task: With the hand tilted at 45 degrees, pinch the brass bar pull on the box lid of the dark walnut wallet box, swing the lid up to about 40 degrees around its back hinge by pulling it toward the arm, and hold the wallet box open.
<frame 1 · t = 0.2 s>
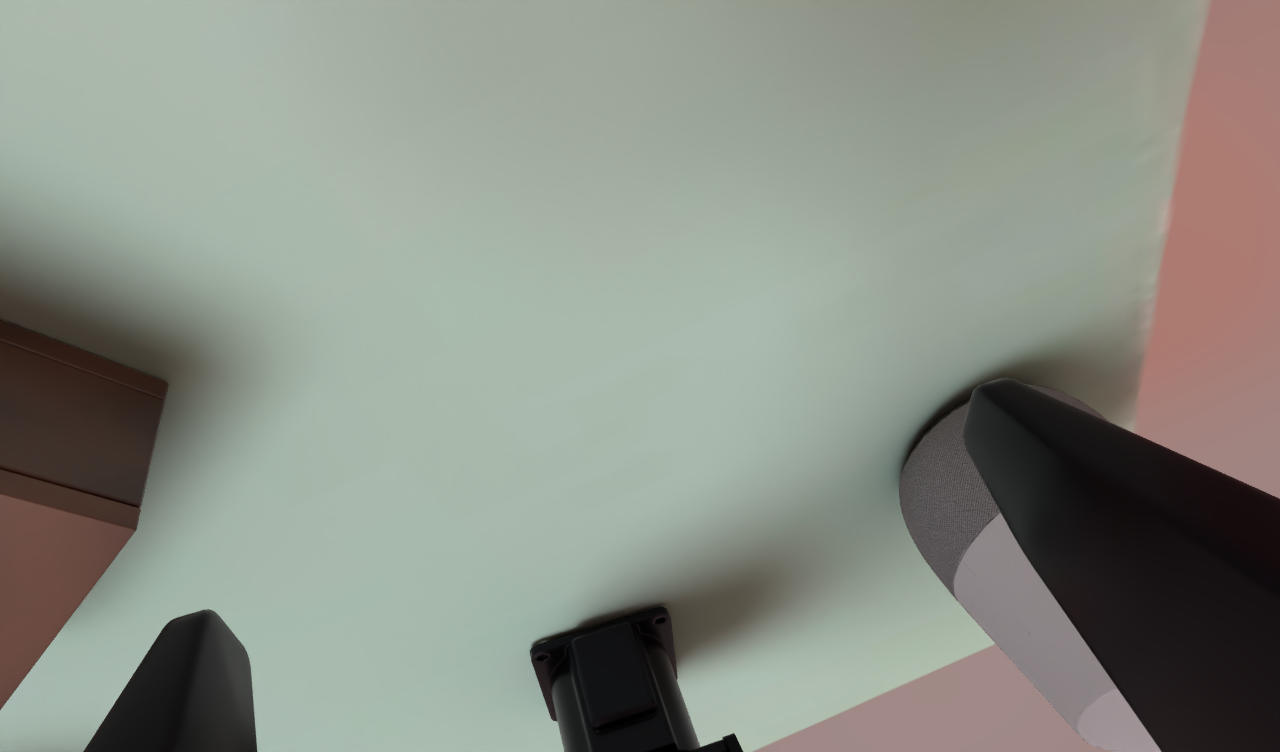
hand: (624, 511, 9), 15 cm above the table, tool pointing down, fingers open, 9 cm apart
smart speaker: (969, 440, 37), on the table
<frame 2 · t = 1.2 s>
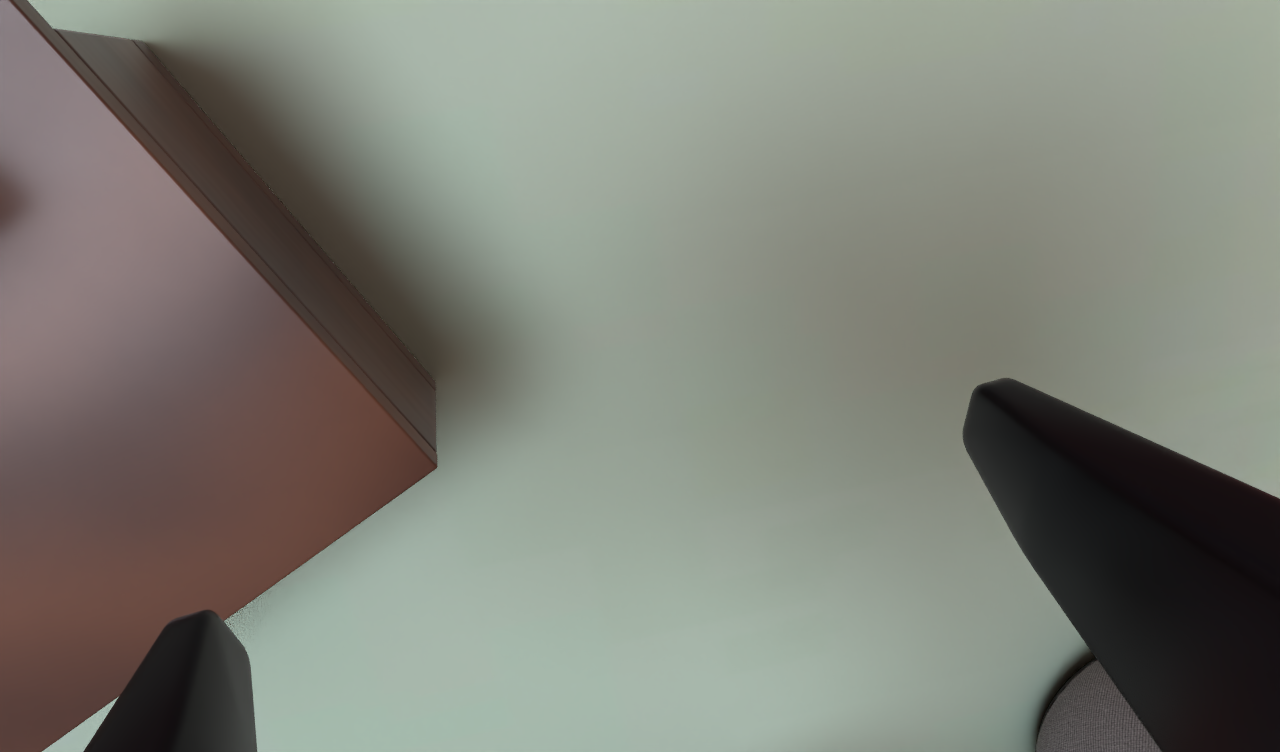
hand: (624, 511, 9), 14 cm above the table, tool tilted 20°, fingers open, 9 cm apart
smart speaker: (1102, 706, 35), on the table
wallet box: (104, 372, 21), on the table
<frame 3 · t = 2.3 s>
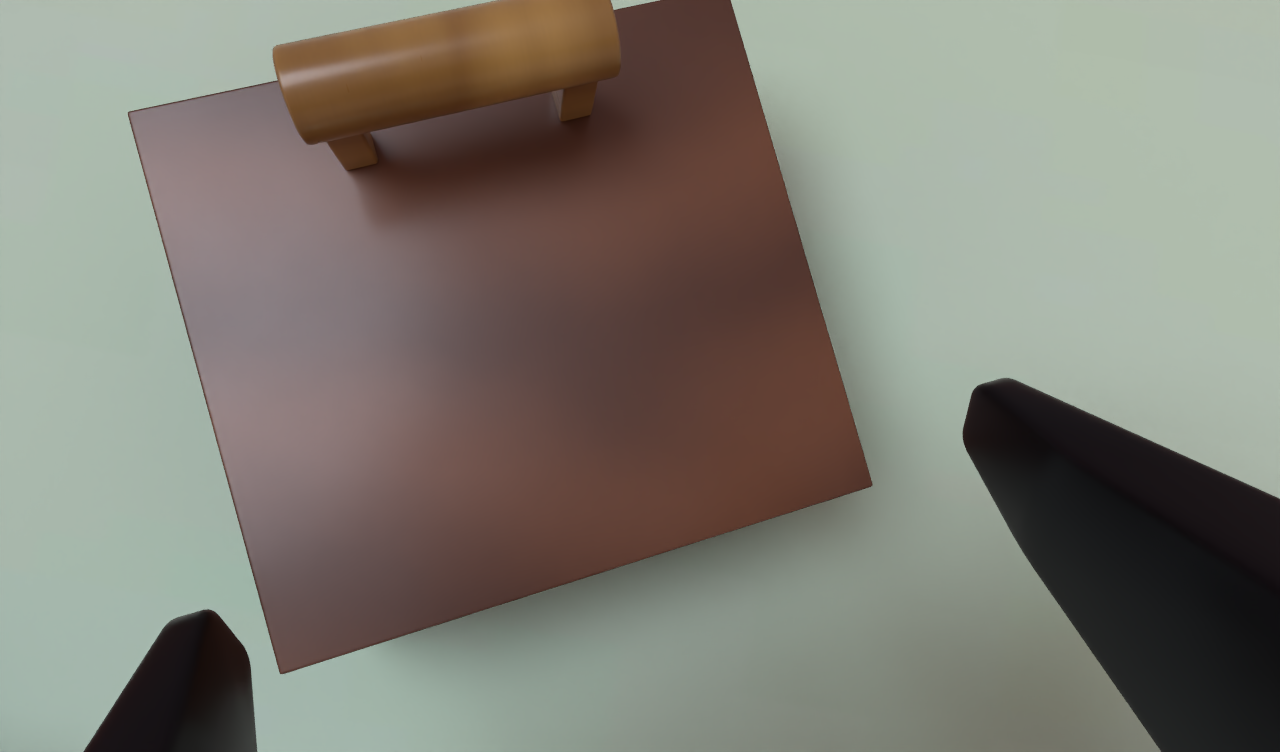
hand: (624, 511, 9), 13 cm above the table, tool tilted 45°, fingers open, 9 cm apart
box lid: (517, 295, 15), point 7 cm above the table, hinge at 0.0°
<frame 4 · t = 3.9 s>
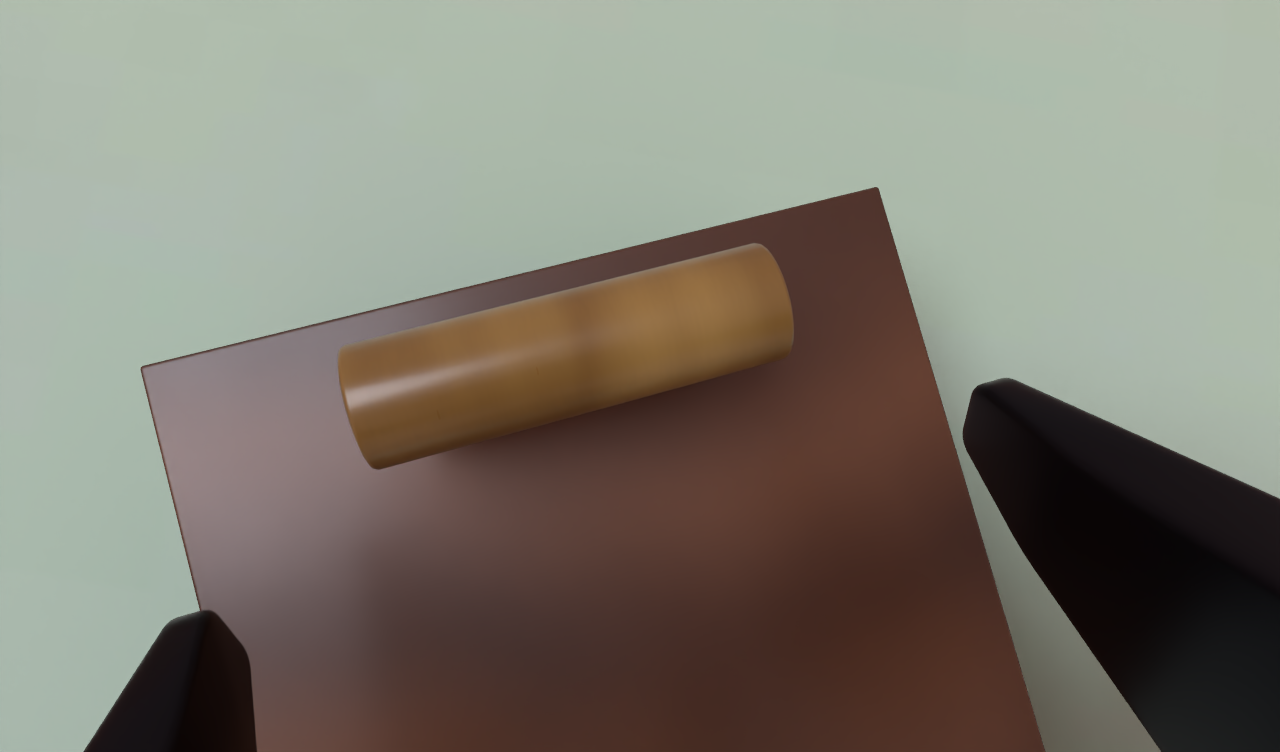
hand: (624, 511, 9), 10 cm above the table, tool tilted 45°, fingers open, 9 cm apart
box lid: (638, 624, 12), point 7 cm above the table, hinge at 0.0°
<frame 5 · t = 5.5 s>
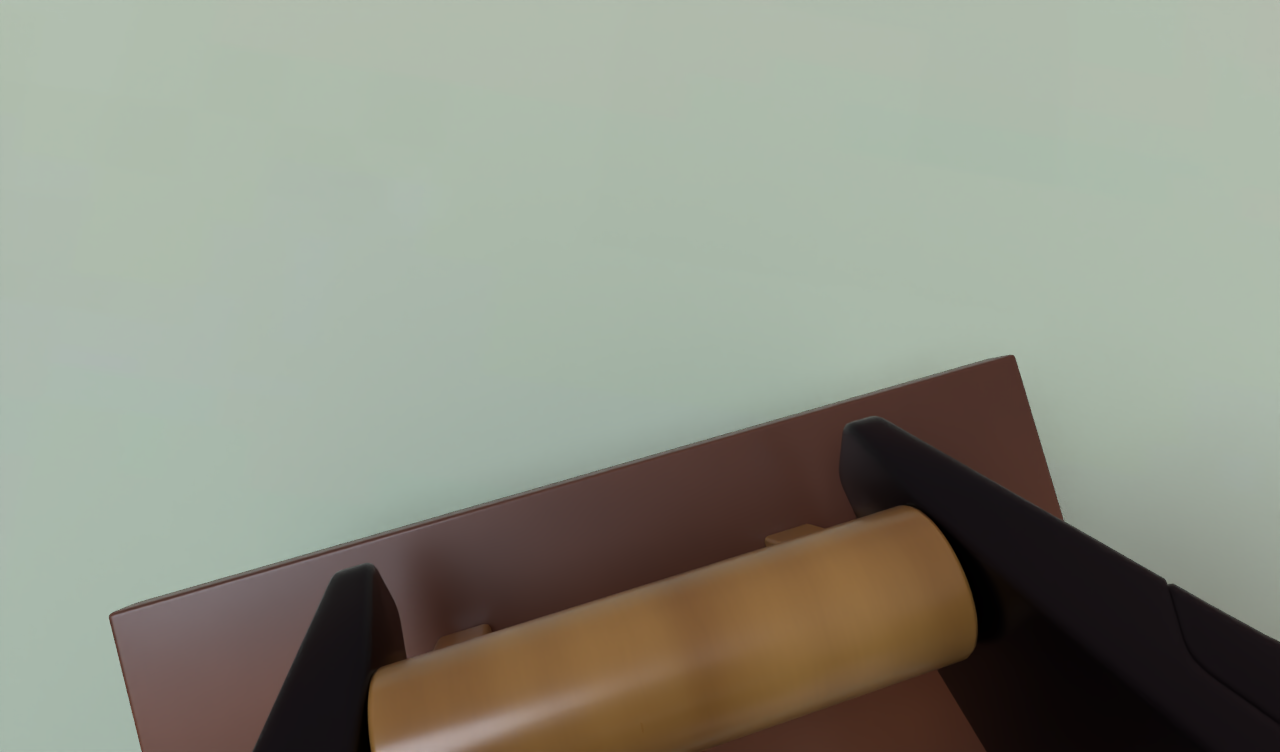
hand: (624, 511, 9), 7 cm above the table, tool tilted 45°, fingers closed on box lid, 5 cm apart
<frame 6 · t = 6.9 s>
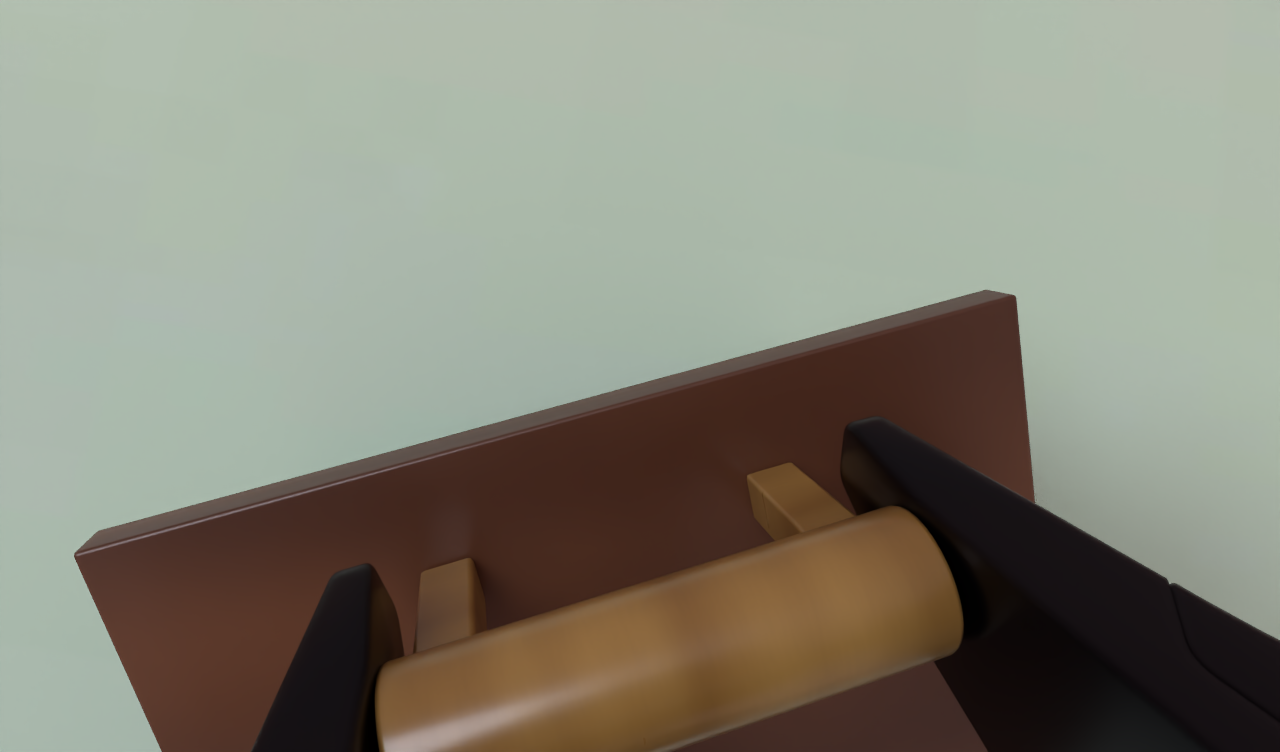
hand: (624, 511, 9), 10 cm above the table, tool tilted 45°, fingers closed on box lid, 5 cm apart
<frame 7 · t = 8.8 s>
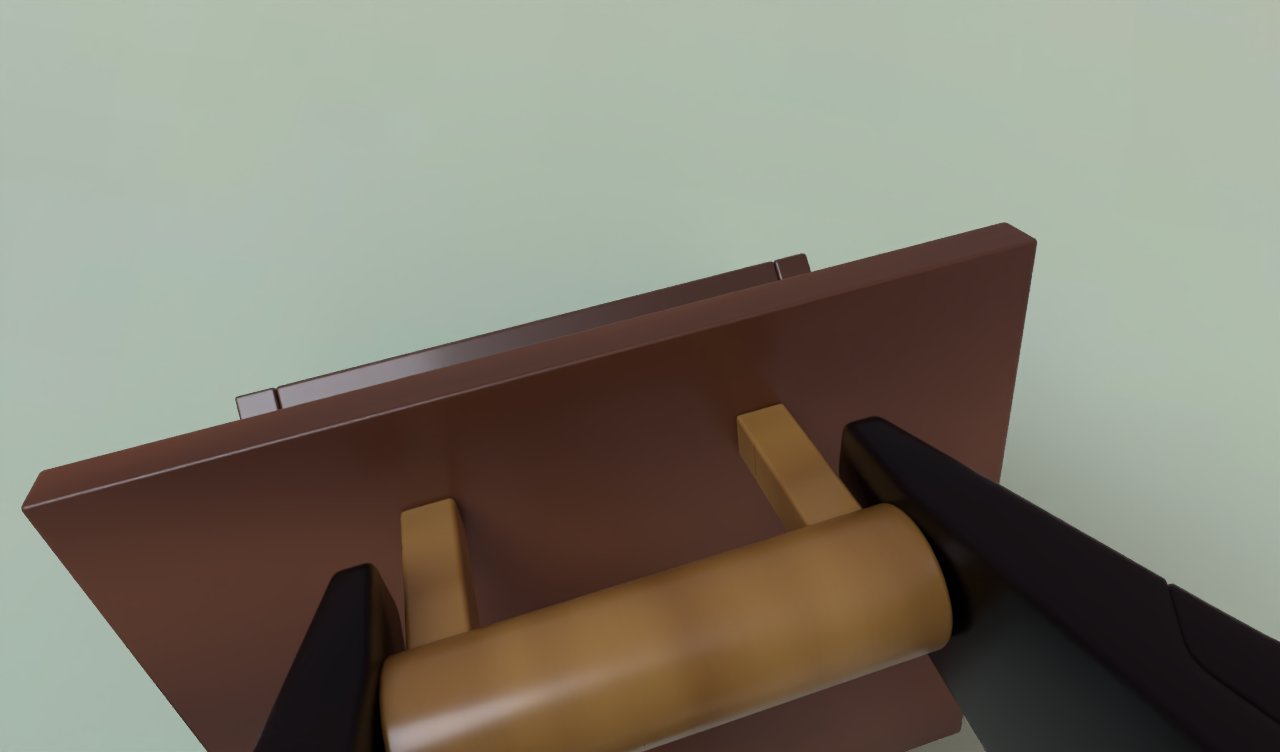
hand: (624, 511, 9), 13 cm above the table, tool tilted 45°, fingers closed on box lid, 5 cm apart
box lid: (669, 742, 12), point 10 cm above the table, hinge at 38.0°, touching gripper
wallet box: (586, 537, 22), on the table
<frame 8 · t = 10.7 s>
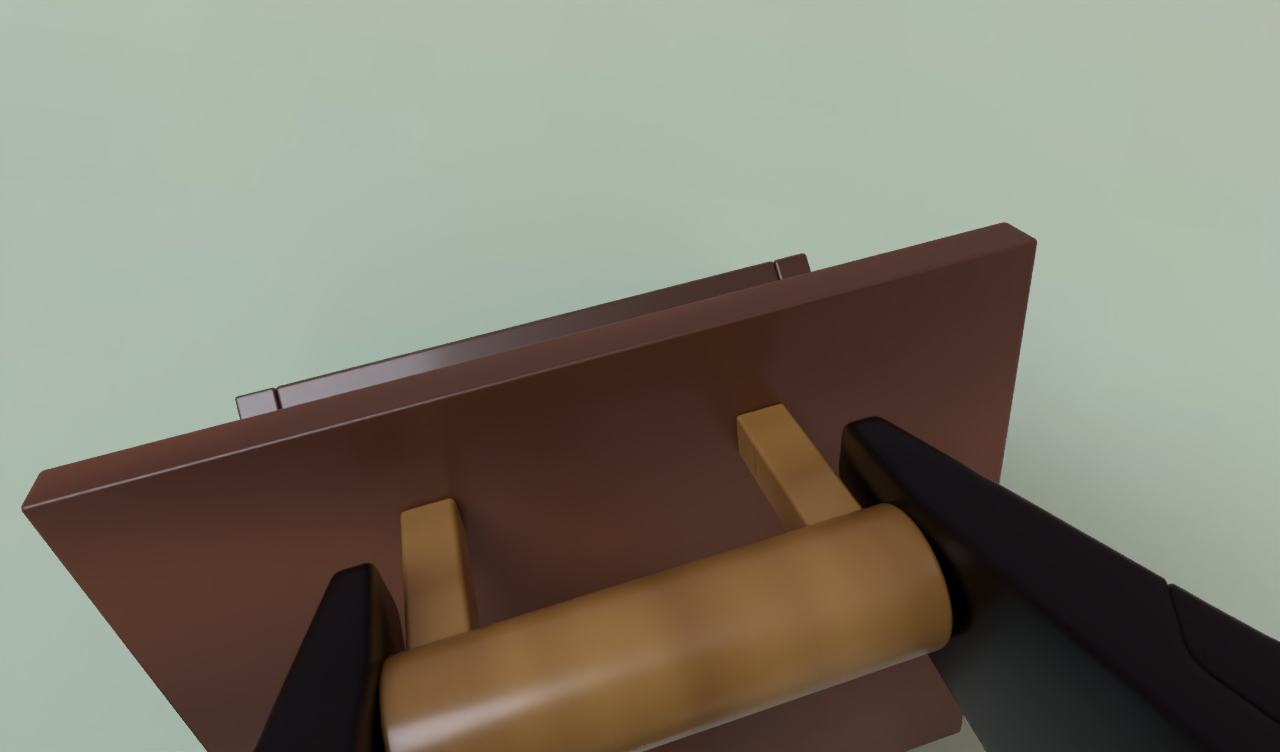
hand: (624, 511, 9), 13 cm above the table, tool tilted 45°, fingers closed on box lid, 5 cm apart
box lid: (669, 742, 12), point 10 cm above the table, hinge at 38.0°, touching gripper
wallet box: (586, 538, 22), on the table
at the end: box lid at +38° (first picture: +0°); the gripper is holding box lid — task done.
